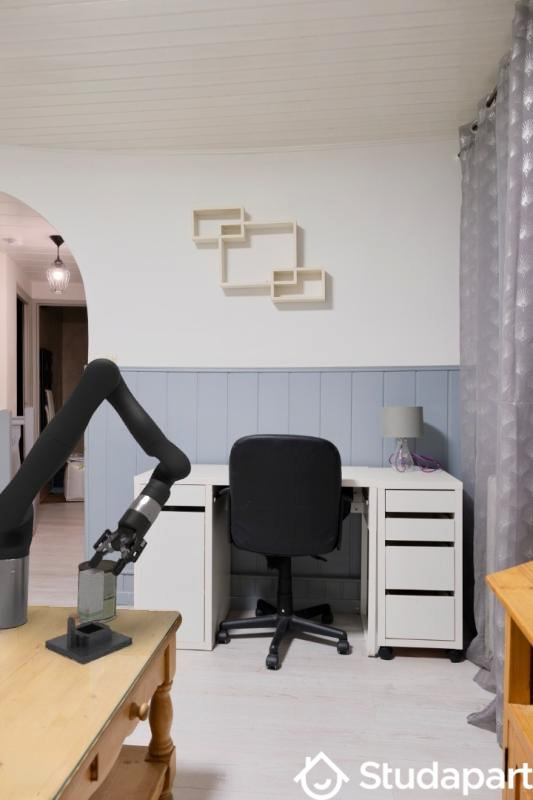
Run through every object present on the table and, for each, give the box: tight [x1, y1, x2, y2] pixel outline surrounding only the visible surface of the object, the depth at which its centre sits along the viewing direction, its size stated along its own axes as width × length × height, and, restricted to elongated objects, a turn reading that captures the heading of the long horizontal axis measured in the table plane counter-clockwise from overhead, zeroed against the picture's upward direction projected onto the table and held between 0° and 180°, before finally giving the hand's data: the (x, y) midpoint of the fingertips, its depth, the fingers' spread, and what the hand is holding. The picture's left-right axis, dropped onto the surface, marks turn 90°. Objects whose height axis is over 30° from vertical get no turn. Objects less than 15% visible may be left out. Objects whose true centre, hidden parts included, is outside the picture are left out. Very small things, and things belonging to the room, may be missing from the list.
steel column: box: [77, 568, 104, 622], centre depth 135 cm, size 4×4×11 cm
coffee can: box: [76, 559, 118, 624], centre depth 154 cm, size 10×10×14 cm
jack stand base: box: [44, 612, 133, 665], centre depth 135 cm, size 14×14×8 cm
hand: (102, 570), depth 138 cm, fingers open, 8 cm apart
